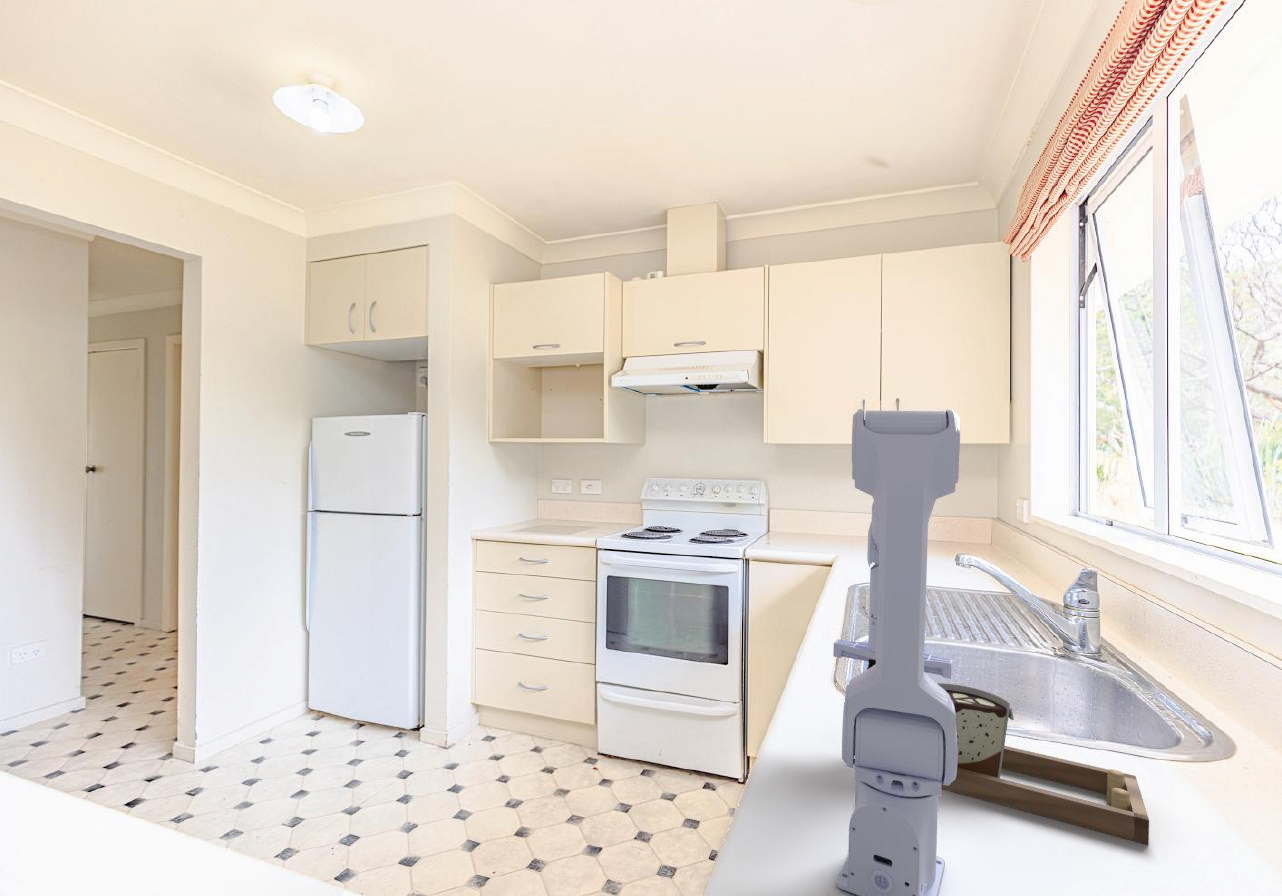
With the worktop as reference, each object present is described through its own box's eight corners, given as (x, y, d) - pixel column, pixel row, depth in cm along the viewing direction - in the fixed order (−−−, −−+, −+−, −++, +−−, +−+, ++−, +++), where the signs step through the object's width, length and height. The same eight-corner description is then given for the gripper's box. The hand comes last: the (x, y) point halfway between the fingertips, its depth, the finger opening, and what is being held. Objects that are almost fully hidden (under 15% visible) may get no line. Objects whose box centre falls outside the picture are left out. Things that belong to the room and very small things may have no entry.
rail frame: (1148, 844, 66) (1149, 810, 66) (933, 786, 77) (934, 757, 77) (1135, 797, 76) (1135, 767, 76) (945, 751, 86) (946, 724, 86)
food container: (989, 762, 84) (991, 684, 84) (1012, 786, 78) (1014, 703, 78) (890, 755, 85) (893, 678, 85) (905, 778, 79) (907, 696, 79)
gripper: (956, 619, 85) (953, 723, 85) (843, 603, 92) (841, 698, 92) (950, 631, 79) (947, 744, 79) (830, 613, 86) (827, 715, 86)
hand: (889, 720), depth 85 cm, fingers closed
